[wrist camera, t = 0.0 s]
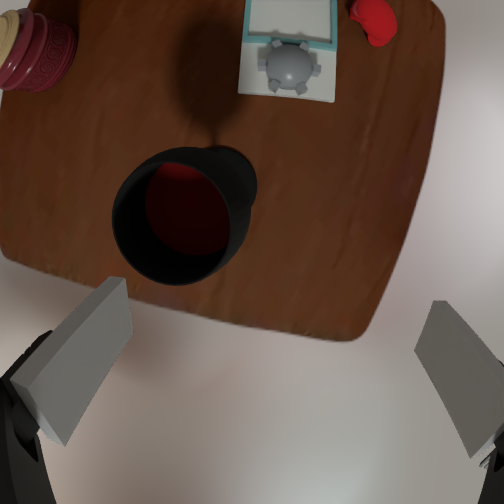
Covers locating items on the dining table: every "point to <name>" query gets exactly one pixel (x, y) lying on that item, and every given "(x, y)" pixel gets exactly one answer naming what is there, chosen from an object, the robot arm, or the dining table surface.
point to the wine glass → (184, 213)
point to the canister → (33, 51)
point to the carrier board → (290, 28)
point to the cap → (375, 20)
